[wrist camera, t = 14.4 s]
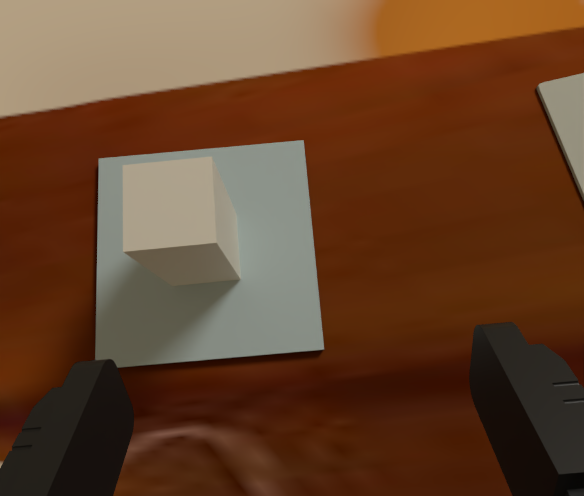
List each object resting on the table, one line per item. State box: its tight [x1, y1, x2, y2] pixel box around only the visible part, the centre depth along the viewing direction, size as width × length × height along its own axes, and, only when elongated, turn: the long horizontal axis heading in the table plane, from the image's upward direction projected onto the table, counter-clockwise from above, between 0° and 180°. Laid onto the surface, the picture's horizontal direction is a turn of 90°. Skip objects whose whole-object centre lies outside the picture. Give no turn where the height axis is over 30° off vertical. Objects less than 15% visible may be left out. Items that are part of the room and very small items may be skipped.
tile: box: [95, 140, 324, 368], centre depth 37 cm, size 16×16×1 cm
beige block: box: [123, 157, 241, 286], centre depth 32 cm, size 5×5×10 cm
